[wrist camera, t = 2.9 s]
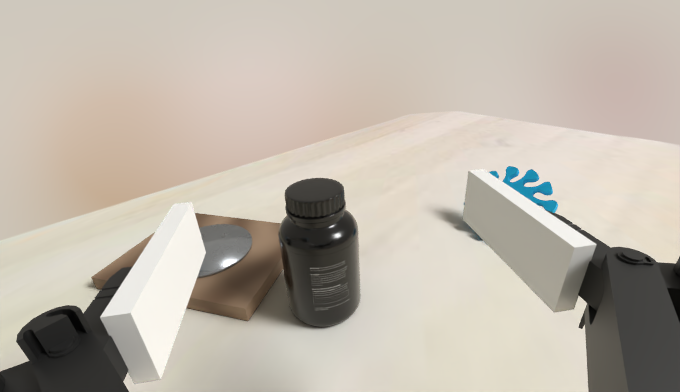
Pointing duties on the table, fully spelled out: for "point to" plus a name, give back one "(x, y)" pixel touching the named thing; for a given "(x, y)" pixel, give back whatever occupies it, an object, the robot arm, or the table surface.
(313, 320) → the supplement bottle
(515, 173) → the gear
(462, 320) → the table surface
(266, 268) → the walnut board
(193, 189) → the table surface
